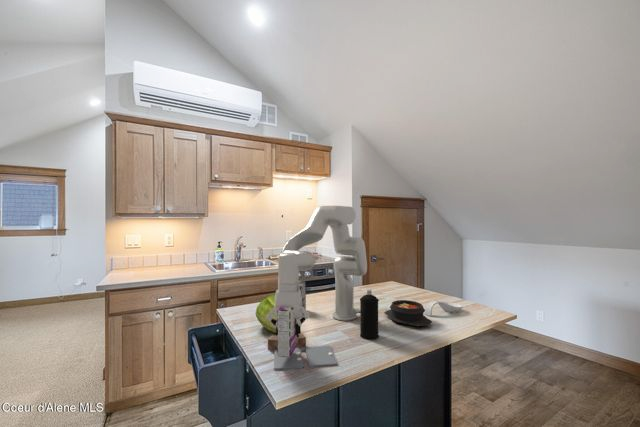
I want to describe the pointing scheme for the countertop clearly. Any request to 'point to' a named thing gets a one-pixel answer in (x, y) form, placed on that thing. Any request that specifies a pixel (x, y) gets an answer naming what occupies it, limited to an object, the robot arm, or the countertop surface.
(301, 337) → the walnut cube
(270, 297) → the lettuce
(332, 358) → the pad one
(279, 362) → the pad two
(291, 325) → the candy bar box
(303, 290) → the coffee box
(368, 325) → the aerosol can
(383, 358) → the countertop surface
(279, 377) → the countertop surface
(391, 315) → the casserole
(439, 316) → the countertop surface
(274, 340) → the walnut cube
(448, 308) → the white slipper
